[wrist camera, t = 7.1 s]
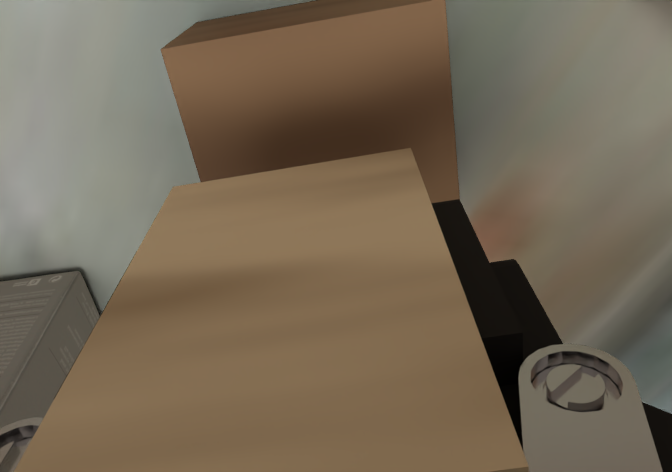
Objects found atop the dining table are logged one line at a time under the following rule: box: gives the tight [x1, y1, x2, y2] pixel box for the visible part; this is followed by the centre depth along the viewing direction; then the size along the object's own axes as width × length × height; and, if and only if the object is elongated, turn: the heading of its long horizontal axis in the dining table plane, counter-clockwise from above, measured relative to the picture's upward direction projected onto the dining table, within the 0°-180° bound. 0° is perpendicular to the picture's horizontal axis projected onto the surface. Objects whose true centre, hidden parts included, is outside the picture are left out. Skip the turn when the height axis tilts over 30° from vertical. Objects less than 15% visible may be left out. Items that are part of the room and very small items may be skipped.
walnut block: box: [161, 0, 460, 203], centre depth 20 cm, size 8×8×5 cm
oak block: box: [14, 148, 529, 472], centre depth 9 cm, size 4×4×7 cm
